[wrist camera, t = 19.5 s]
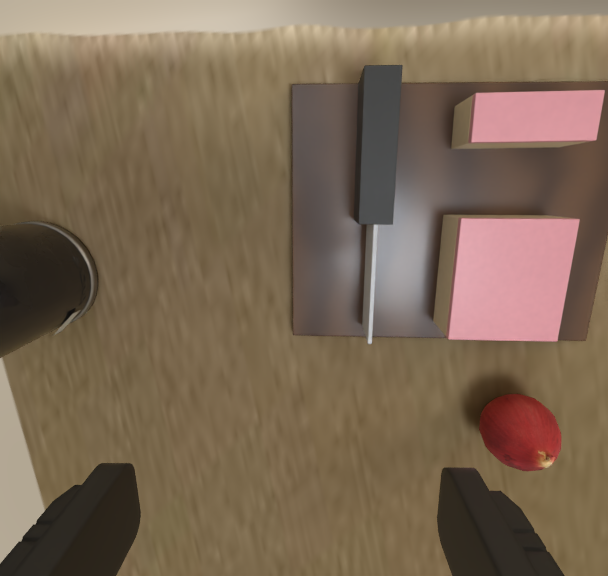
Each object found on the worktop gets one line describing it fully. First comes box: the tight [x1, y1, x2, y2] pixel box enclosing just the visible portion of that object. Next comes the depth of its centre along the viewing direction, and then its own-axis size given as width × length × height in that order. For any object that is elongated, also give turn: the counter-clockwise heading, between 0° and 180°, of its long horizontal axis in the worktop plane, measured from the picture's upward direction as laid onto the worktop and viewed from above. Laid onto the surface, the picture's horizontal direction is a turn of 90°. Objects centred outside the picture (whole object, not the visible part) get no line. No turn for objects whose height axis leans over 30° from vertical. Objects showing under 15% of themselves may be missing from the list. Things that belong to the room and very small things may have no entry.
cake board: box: [292, 81, 608, 341], centre depth 30 cm, size 25×20×1 cm
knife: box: [354, 65, 402, 344], centre depth 28 cm, size 19×2×4 cm, turn 0°
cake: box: [433, 215, 580, 342], centre depth 29 cm, size 8×9×4 cm
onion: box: [479, 394, 561, 471], centre depth 31 cm, size 6×6×8 cm
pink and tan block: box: [451, 90, 605, 149], centre depth 26 cm, size 8×3×4 cm, turn 91°
